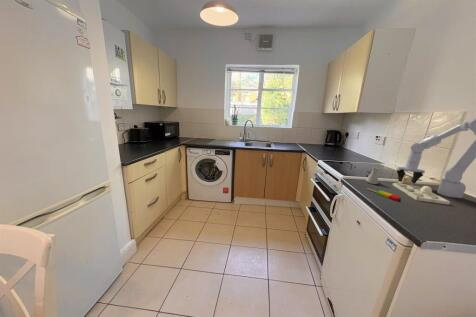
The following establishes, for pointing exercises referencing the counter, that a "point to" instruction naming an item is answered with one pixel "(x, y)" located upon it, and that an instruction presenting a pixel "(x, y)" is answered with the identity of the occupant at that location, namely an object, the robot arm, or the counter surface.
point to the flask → (373, 176)
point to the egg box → (420, 194)
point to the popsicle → (387, 195)
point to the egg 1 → (407, 180)
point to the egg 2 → (426, 190)
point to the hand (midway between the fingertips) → (406, 182)
